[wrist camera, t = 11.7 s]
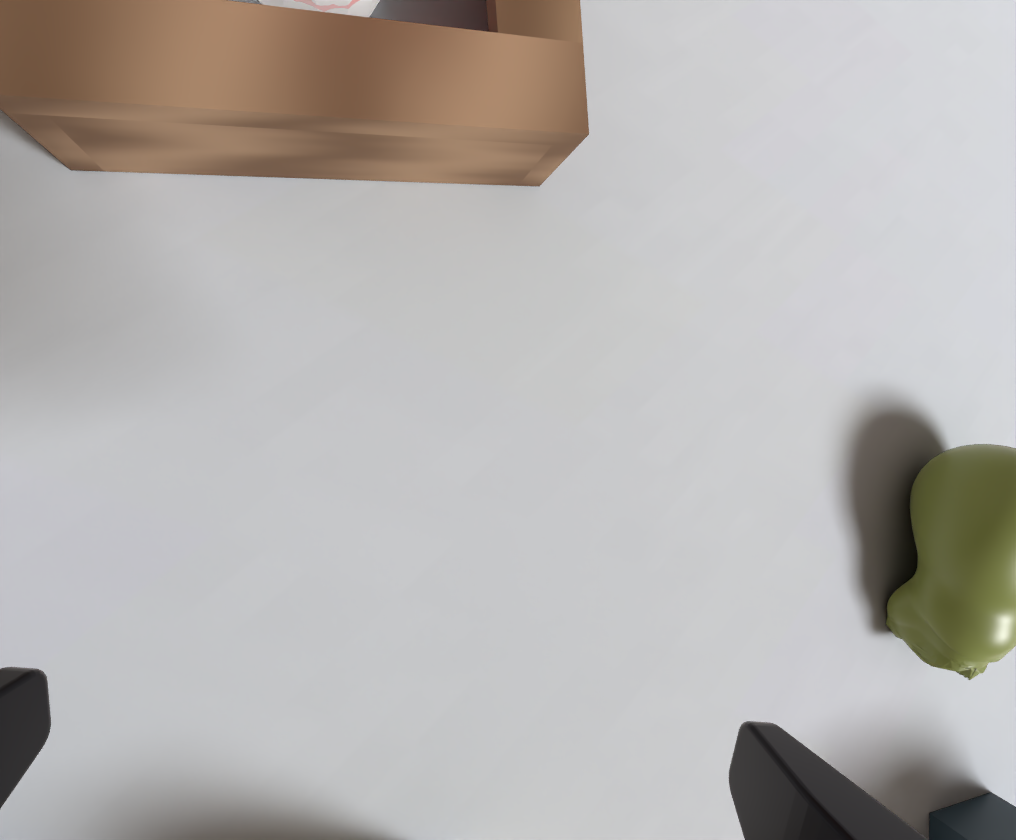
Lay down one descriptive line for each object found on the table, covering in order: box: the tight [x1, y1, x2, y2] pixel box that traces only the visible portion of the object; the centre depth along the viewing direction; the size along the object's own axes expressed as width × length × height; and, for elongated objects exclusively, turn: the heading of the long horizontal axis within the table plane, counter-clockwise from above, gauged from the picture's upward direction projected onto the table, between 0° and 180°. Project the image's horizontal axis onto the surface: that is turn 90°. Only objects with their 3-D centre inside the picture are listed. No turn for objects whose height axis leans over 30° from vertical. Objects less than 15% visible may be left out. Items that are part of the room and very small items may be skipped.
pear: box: [886, 444, 1016, 680], centre depth 24 cm, size 6×5×10 cm
